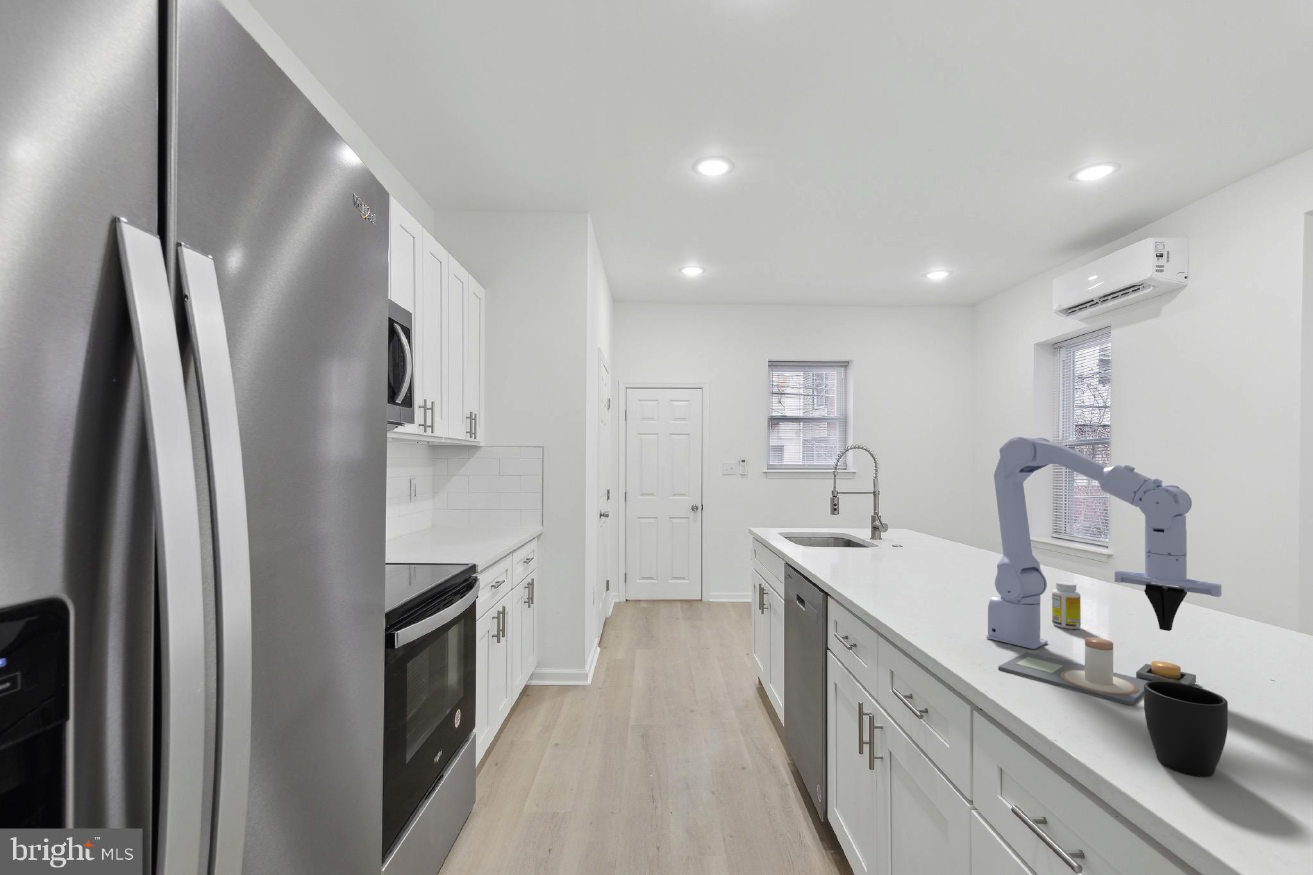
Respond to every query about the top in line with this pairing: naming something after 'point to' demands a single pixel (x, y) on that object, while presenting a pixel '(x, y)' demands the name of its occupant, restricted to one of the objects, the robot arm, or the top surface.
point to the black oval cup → (1186, 726)
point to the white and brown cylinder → (1099, 661)
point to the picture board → (1074, 677)
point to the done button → (1166, 669)
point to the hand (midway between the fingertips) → (1165, 629)
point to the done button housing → (1147, 675)
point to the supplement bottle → (1066, 606)
